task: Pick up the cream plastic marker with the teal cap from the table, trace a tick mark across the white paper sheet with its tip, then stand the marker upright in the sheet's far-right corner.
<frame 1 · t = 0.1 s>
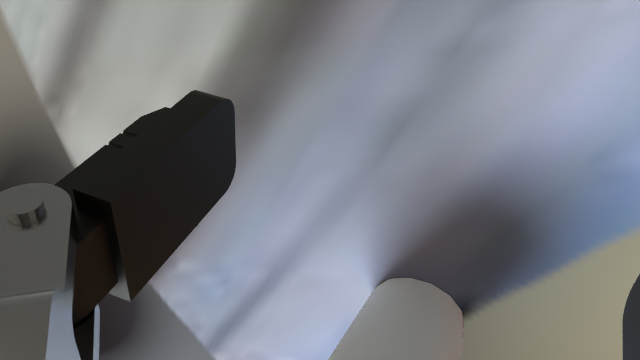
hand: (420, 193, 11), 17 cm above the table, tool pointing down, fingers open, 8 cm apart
foam cup: (417, 309, 40), on the table
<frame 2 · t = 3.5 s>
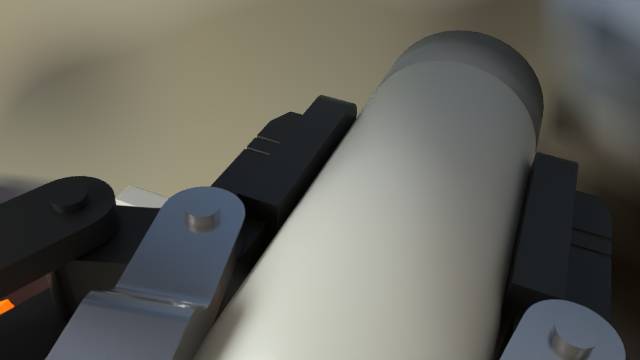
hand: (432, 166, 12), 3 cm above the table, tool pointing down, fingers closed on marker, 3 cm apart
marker: (460, 105, 14), on the table, touching gripper
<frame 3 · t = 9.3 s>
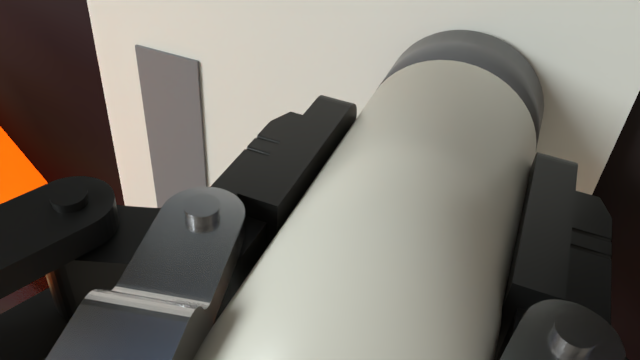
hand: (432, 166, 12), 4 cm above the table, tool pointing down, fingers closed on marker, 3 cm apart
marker: (460, 105, 14), point 1 cm above the table, touching gripper
paper sheet: (326, 110, 16), on the table
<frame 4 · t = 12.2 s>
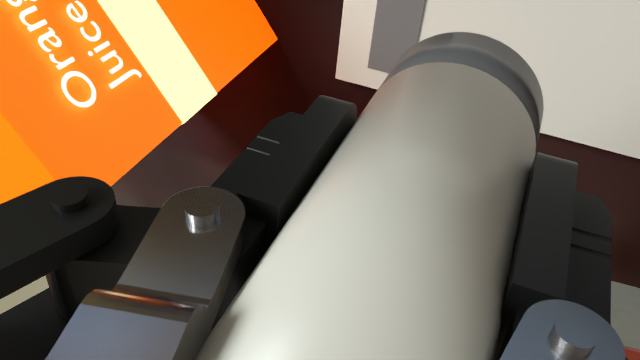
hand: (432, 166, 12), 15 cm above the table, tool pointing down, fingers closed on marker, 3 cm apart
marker: (460, 106, 14), point 12 cm above the table, touching gripper
tape dispenser: (634, 310, 31), on the table
when the fingers open (4 cm above the table, at t = 15.1 s): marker stays where it is, resting on paper sheet.
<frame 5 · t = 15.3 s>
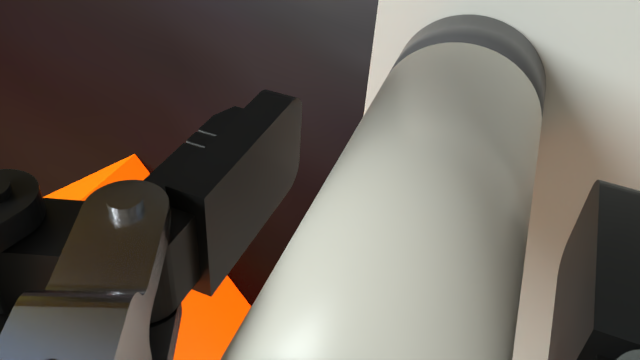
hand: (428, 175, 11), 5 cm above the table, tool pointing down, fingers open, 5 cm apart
orange juice: (148, 256, 26), on the table
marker: (466, 86, 14), point 1 cm above the table, touching paper sheet
paper sheet: (589, 265, 17), on the table
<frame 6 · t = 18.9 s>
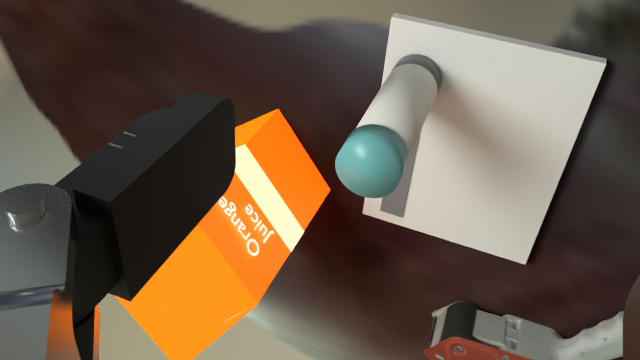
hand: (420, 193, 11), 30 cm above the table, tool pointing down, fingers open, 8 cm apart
orange juice: (274, 160, 53), on the table
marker: (416, 77, 42), point 1 cm above the table, touching paper sheet
paper sheet: (466, 145, 45), on the table
tape dispenser: (543, 337, 54), on the table, touching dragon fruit
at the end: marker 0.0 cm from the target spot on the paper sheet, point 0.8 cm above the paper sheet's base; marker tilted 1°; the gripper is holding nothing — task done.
